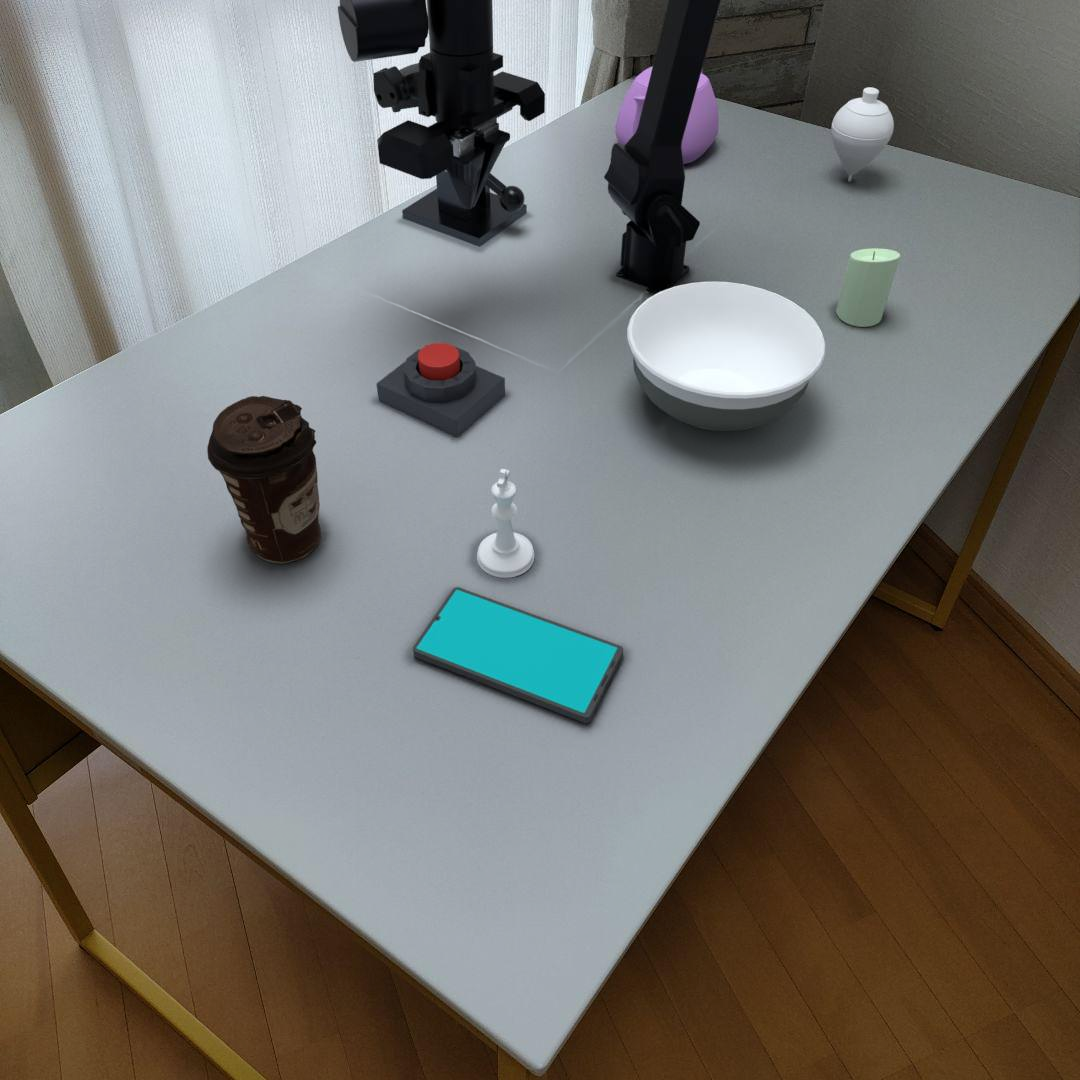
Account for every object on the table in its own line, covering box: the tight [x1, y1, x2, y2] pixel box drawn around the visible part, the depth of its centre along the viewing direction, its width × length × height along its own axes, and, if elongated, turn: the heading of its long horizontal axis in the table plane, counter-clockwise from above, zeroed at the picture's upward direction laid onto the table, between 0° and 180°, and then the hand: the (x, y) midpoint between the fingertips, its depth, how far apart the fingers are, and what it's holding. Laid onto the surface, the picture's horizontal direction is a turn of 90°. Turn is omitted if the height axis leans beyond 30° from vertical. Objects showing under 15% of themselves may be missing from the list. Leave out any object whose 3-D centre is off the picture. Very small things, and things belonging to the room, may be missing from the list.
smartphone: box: [412, 587, 624, 724], centre depth 78 cm, size 7×1×15 cm
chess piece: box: [476, 468, 535, 579], centre depth 82 cm, size 5×5×10 cm
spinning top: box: [830, 86, 895, 182], centre depth 128 cm, size 8×8×12 cm
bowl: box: [626, 281, 827, 432], centre depth 97 cm, size 19×19×8 cm
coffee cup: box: [206, 395, 322, 564], centre depth 82 cm, size 9×8×13 cm
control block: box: [376, 344, 506, 438], centre depth 99 cm, size 10×8×4 cm
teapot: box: [614, 65, 719, 165], centre depth 135 cm, size 13×20×11 cm
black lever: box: [485, 172, 525, 212], centre depth 119 cm, size 11×3×3 cm, turn 56°
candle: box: [835, 247, 901, 328], centre depth 108 cm, size 5×5×8 cm
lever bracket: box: [401, 170, 528, 248], centre depth 122 cm, size 12×10×10 cm
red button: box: [418, 342, 460, 380], centre depth 97 cm, size 4×4×2 cm
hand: (468, 206), depth 101 cm, fingers closed
